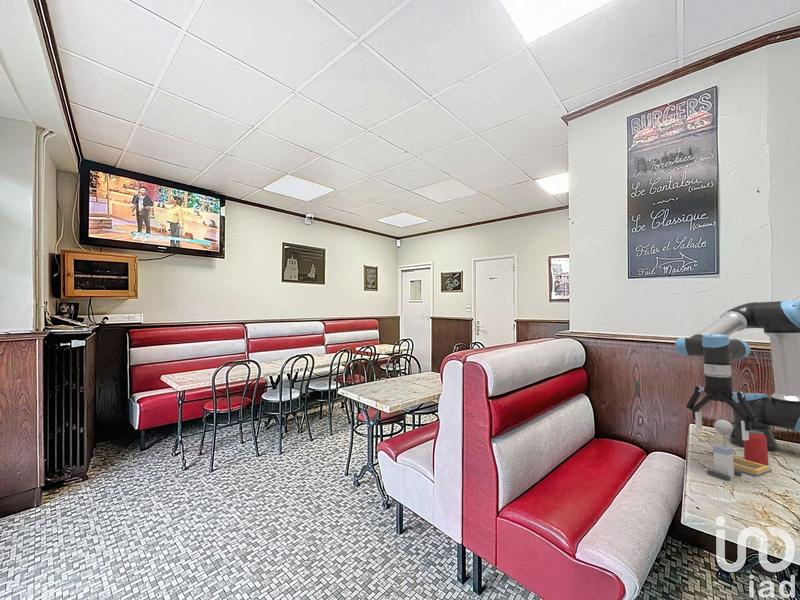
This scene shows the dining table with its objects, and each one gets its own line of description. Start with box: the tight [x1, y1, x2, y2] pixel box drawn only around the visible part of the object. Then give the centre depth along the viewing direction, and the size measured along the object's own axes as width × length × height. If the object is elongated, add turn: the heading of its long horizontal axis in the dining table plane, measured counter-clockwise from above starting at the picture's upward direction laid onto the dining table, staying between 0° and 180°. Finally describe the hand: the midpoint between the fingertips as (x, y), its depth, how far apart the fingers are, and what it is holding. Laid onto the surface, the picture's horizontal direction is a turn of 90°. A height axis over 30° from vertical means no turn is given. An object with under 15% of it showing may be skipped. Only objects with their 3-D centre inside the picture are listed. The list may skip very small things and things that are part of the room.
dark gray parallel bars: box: [706, 469, 743, 482], centre depth 125 cm, size 10×6×2 cm, turn 113°
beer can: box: [743, 430, 769, 466], centre depth 137 cm, size 7×7×12 cm
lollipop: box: [713, 419, 734, 447], centre depth 142 cm, size 6×6×15 cm
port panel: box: [733, 456, 772, 478], centre depth 131 cm, size 12×11×2 cm
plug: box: [712, 444, 735, 479], centre depth 125 cm, size 4×4×10 cm
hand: (721, 434), depth 126 cm, fingers open, 13 cm apart
